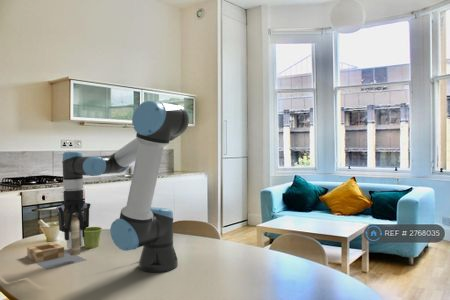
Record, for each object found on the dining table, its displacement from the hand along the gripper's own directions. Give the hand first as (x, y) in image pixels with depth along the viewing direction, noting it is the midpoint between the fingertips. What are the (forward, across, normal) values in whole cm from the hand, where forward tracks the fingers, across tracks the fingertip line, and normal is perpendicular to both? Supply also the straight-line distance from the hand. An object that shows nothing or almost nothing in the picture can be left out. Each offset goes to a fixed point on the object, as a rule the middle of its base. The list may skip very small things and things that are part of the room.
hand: (74, 246), depth 157 cm
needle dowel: (+3, 0, 0) cm, 3 cm away
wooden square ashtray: (+6, +6, -15) cm, 17 cm away
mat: (+6, +4, -10) cm, 12 cm away
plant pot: (+6, -15, -16) cm, 23 cm away
